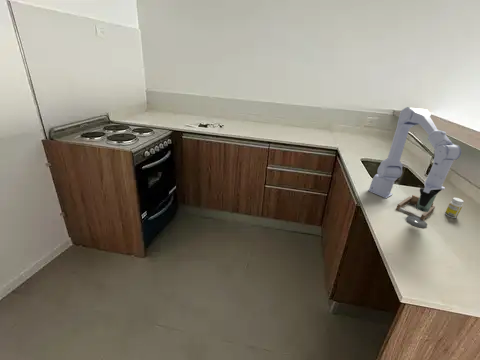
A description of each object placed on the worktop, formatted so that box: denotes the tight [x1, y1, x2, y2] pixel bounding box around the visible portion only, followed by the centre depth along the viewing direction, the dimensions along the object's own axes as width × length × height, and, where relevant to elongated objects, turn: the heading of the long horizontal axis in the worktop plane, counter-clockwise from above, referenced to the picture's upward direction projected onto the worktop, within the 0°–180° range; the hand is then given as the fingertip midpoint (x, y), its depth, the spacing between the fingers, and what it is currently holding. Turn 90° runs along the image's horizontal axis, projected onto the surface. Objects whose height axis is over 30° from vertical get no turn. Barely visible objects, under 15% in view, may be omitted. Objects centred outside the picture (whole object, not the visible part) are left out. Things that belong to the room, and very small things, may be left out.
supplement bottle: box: [444, 197, 464, 219], centre depth 126 cm, size 5×5×8 cm
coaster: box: [405, 215, 428, 229], centre depth 118 cm, size 8×8×1 cm
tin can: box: [415, 191, 438, 213], centre depth 114 cm, size 5×5×8 cm
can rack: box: [395, 194, 436, 221], centre depth 128 cm, size 11×15×4 cm
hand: (424, 203), depth 114 cm, fingers closed on tin can, 5 cm apart
